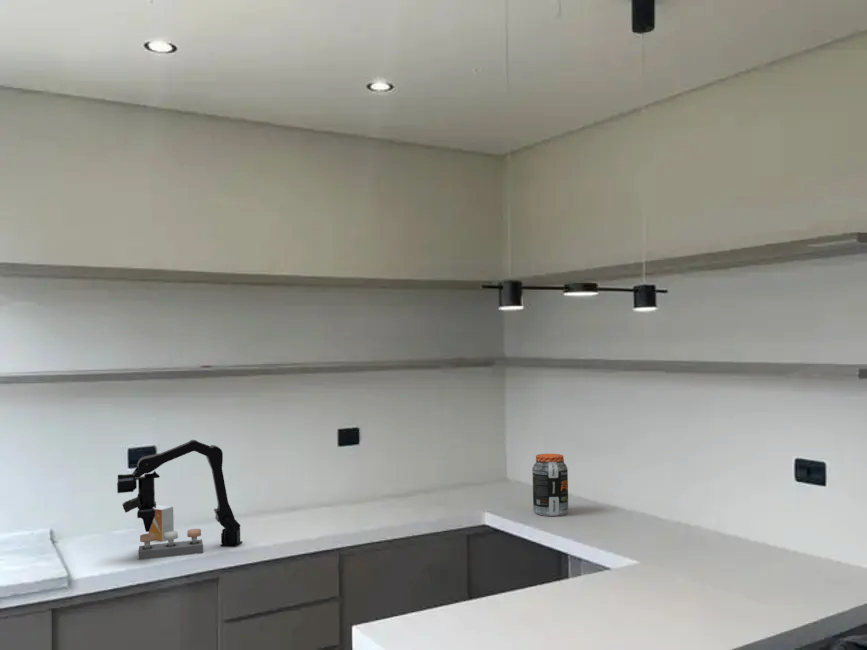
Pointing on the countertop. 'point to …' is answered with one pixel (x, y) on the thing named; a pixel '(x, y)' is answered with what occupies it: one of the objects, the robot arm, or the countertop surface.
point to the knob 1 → (147, 539)
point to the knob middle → (170, 537)
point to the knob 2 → (194, 534)
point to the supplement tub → (550, 485)
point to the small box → (162, 522)
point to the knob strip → (170, 549)
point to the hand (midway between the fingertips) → (147, 531)
